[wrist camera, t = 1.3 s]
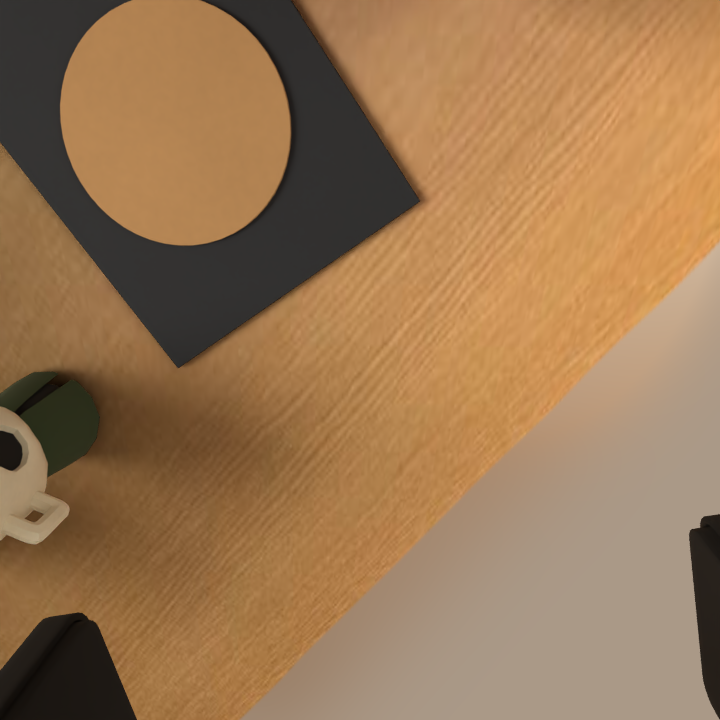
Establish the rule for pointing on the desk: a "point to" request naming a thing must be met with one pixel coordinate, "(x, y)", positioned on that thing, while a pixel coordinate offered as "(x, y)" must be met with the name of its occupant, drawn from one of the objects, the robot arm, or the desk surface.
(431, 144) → the desk surface
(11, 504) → the character mug
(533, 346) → the desk surface
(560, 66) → the desk surface
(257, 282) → the desk mat
